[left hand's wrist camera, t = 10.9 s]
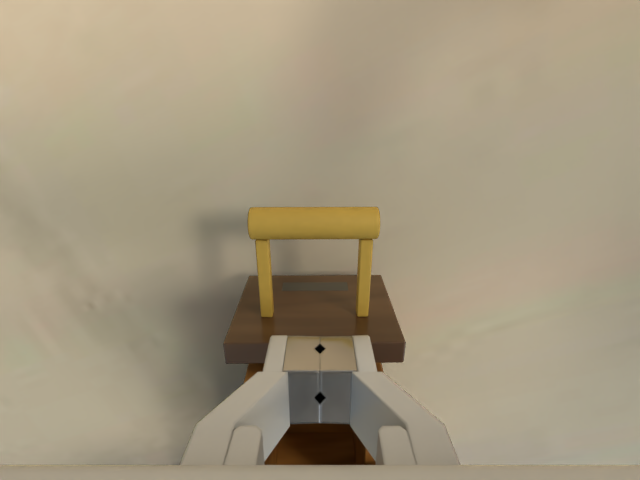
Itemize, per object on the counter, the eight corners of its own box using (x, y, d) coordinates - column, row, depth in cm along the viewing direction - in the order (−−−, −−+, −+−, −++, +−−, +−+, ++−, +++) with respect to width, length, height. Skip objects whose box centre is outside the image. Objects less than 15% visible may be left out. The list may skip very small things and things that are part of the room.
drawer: (240, 186, 20) (206, 225, 14) (387, 185, 20) (419, 224, 14) (262, 427, 27) (246, 523, 21) (369, 426, 27) (385, 522, 21)
